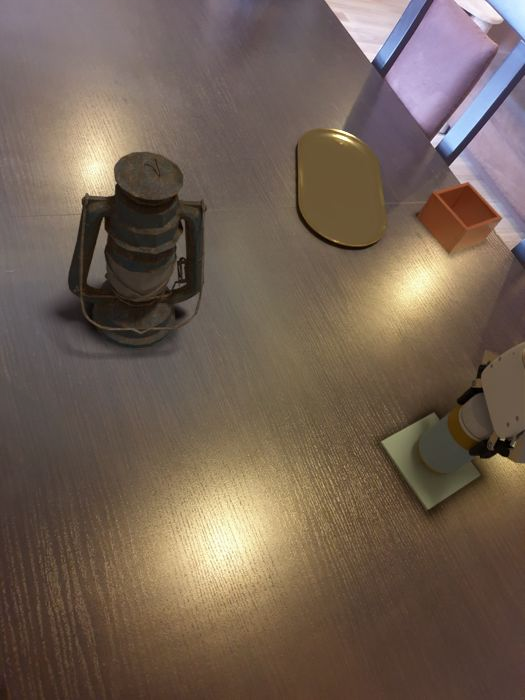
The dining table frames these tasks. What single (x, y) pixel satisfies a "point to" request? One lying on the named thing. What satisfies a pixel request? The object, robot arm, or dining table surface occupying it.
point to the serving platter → (340, 188)
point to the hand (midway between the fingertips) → (472, 427)
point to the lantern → (140, 252)
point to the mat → (415, 473)
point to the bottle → (455, 436)
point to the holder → (447, 223)
